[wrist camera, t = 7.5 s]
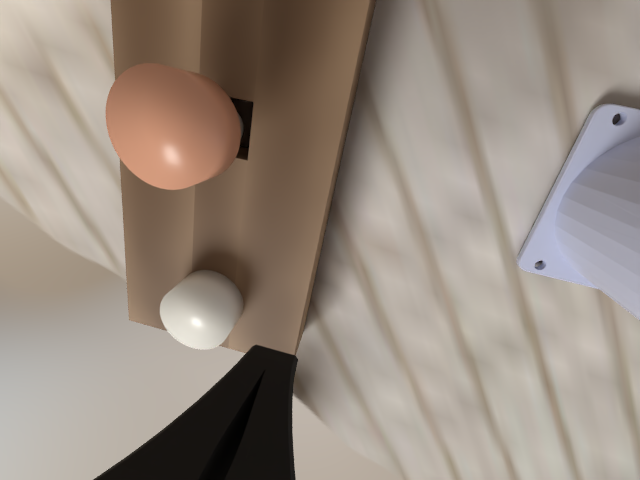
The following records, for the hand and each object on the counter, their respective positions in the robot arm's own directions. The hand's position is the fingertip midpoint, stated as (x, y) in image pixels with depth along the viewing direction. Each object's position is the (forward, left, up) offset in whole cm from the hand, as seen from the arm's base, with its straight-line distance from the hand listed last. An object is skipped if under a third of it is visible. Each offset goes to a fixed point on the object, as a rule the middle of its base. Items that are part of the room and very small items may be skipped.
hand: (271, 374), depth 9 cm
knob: (+5, +3, -9) cm, 11 cm away
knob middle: (+5, -6, -7) cm, 10 cm away
